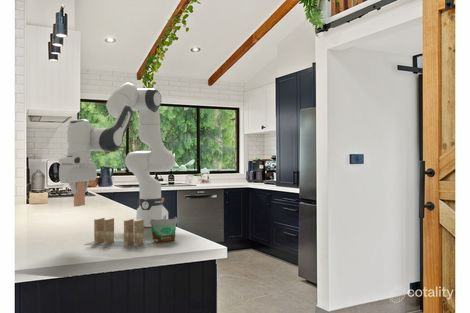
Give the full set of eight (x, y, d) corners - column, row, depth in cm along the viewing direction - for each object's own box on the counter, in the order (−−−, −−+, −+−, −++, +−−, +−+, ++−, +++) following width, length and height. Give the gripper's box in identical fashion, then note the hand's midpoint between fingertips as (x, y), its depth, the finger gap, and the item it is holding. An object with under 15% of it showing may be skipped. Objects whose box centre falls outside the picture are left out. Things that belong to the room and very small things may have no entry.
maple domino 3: (124, 245, 165) (123, 220, 165) (130, 242, 170) (130, 218, 170) (127, 245, 165) (127, 220, 165) (133, 243, 170) (133, 218, 170)
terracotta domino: (73, 206, 166) (73, 181, 166) (81, 204, 170) (81, 180, 170) (77, 206, 165) (77, 181, 165) (84, 204, 170) (84, 180, 170)
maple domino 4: (134, 246, 164) (134, 221, 164) (140, 243, 169) (140, 219, 169) (137, 246, 164) (137, 221, 164) (143, 243, 169) (143, 219, 169)
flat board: (97, 240, 177) (97, 239, 177) (153, 243, 170) (153, 242, 170) (83, 245, 167) (83, 244, 167) (142, 249, 161) (142, 248, 161)
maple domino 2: (104, 244, 168) (104, 219, 168) (110, 241, 173) (110, 218, 173) (107, 244, 167) (107, 219, 167) (114, 242, 172) (114, 218, 172)
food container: (156, 245, 167) (156, 220, 167) (149, 243, 172) (149, 219, 172) (183, 241, 174) (183, 218, 174) (176, 239, 179) (176, 216, 179)
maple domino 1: (94, 243, 169) (94, 219, 169) (101, 241, 174) (101, 217, 174) (97, 244, 168) (97, 219, 168) (104, 241, 173) (104, 217, 173)
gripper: (87, 158, 179) (87, 190, 179) (55, 159, 159) (56, 195, 159) (100, 158, 177) (100, 190, 177) (70, 159, 157) (70, 195, 157)
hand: (79, 192), depth 168 cm, fingers closed on terracotta domino, 5 cm apart
